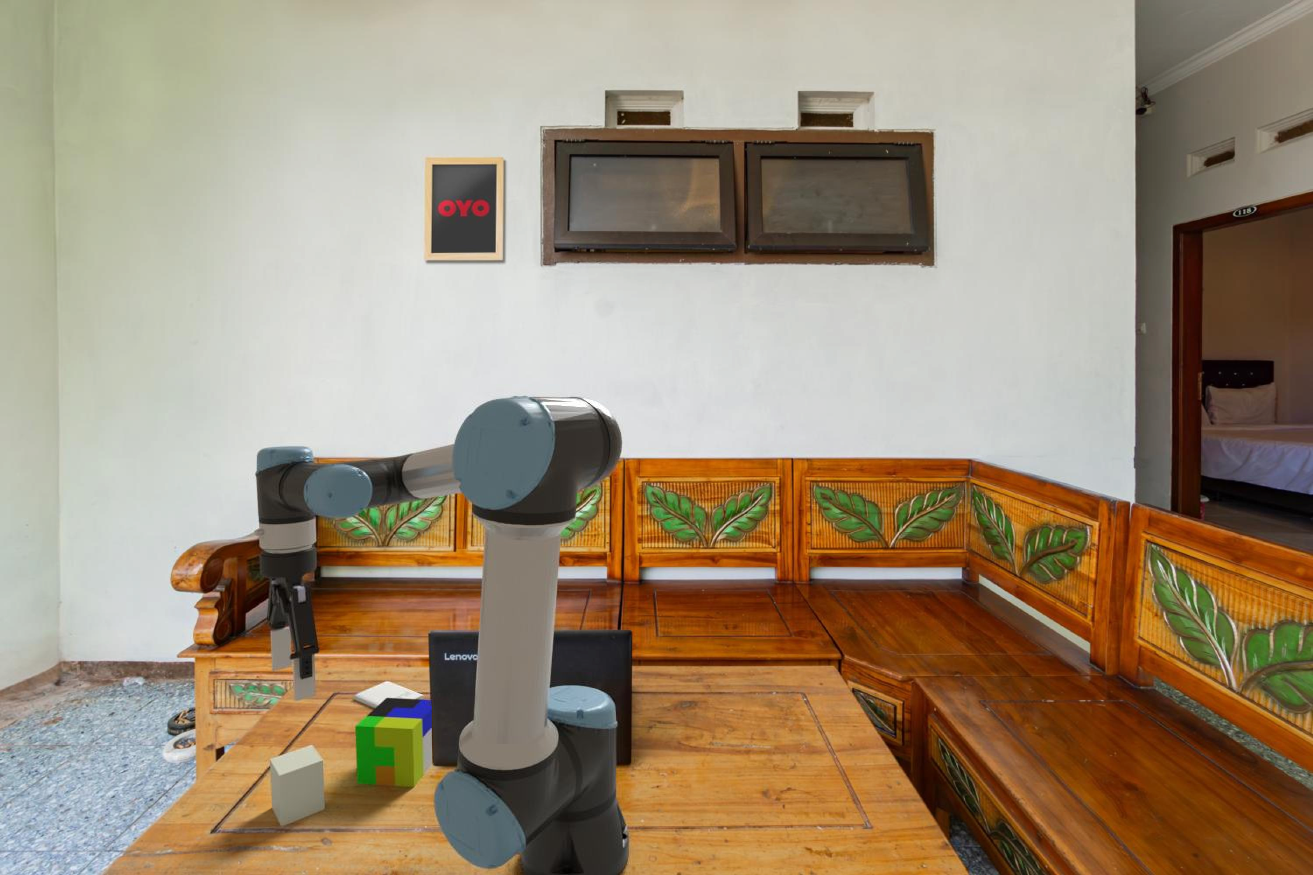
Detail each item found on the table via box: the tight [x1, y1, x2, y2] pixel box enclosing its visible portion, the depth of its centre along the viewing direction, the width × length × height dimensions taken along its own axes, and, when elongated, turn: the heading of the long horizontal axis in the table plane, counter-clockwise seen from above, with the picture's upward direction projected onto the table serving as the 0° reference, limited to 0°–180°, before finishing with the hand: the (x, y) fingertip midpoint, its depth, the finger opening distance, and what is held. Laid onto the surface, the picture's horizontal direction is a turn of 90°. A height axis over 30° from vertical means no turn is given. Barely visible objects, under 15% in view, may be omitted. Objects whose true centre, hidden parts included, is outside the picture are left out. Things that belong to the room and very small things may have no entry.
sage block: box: [269, 744, 326, 827], centre depth 99 cm, size 6×6×8 cm
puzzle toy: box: [354, 698, 433, 788], centre depth 110 cm, size 10×10×10 cm
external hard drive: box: [353, 680, 425, 709], centre depth 136 cm, size 2×8×12 cm
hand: (292, 682), depth 98 cm, fingers open, 13 cm apart
